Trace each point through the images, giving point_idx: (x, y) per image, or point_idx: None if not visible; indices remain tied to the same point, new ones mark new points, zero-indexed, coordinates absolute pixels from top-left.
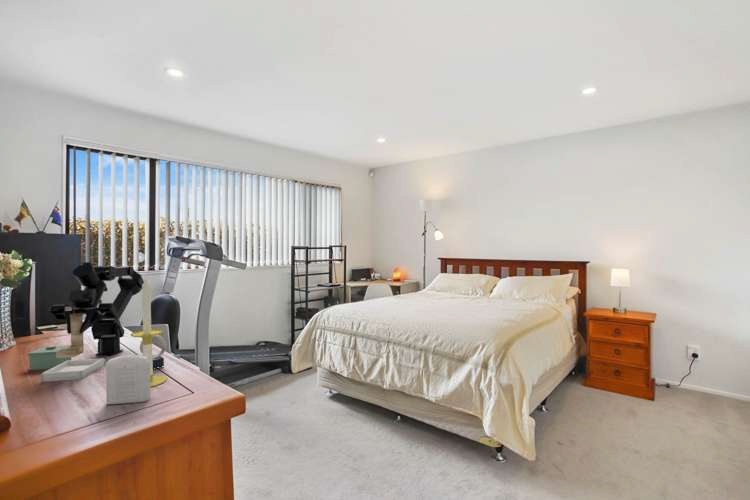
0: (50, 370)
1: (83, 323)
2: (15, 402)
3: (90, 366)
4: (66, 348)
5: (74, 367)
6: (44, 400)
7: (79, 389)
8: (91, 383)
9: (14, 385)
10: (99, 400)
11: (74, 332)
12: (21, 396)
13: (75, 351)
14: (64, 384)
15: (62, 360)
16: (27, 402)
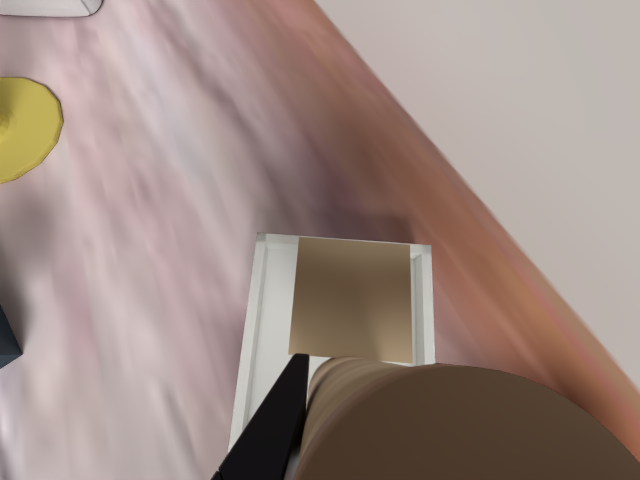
0: (421, 297)
1: (276, 453)
2: (372, 75)
3: (247, 308)
4: (388, 322)
5: None
6: (292, 67)
7: (224, 129)
8: (204, 179)
9: (499, 239)
10: (130, 28)
11: (365, 359)
12: (387, 117)
13: (298, 255)
14: (304, 196)
15: None
16: (335, 66)
